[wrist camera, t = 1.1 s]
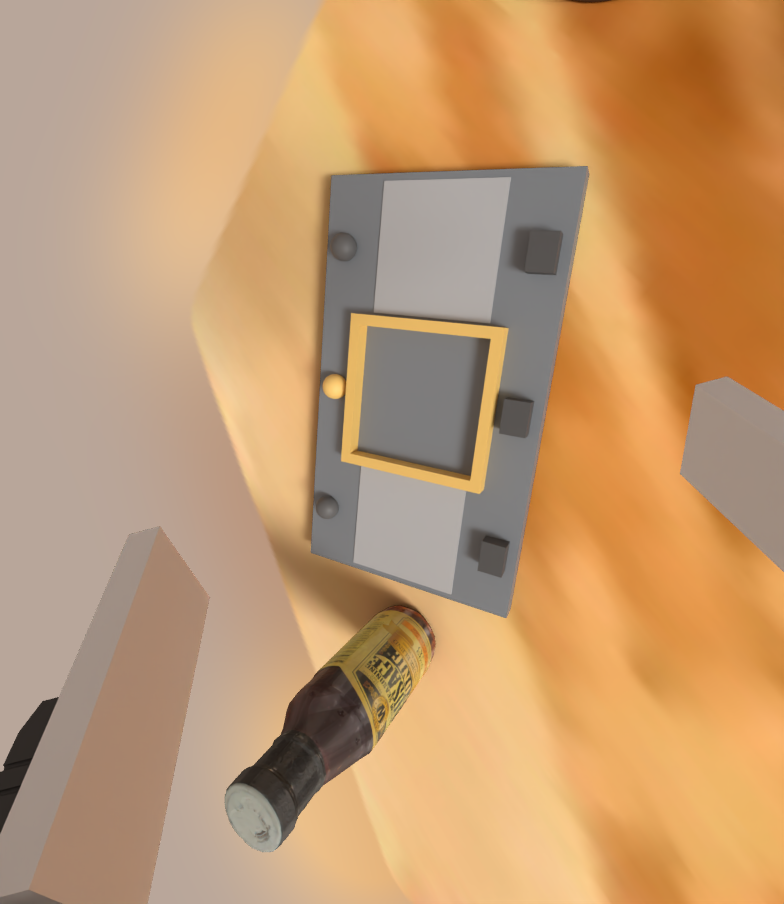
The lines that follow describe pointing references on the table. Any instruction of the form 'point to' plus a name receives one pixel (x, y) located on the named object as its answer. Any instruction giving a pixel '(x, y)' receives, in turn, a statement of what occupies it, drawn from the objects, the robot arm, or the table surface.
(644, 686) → the table surface
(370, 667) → the sauce bottle
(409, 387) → the grey fixture plate
